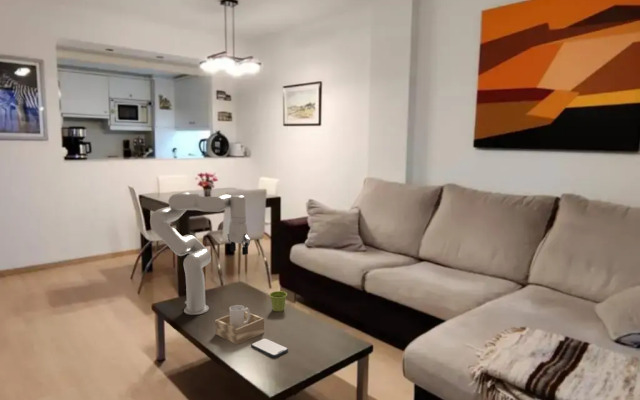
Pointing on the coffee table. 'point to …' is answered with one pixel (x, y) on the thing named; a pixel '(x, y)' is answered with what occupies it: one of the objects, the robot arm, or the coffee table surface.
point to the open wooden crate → (242, 333)
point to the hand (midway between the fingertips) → (239, 252)
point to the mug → (238, 316)
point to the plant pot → (278, 300)
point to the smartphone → (269, 348)
